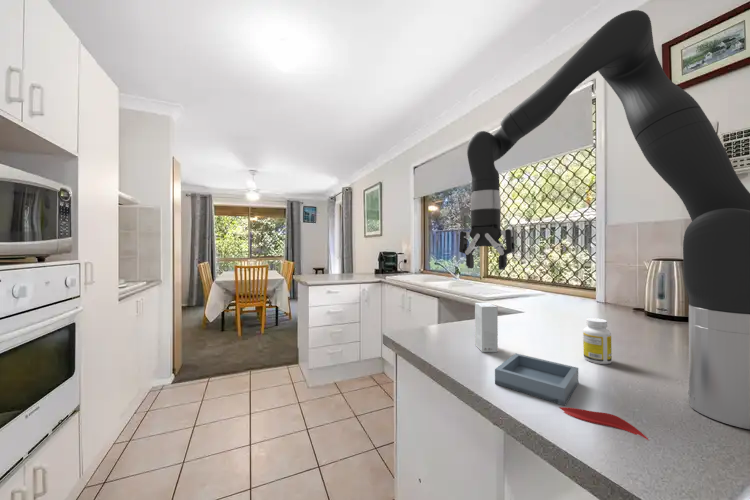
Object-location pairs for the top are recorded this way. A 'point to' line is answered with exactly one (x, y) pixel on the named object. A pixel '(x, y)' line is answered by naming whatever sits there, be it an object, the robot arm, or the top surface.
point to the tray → (538, 378)
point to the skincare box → (486, 327)
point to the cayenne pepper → (602, 419)
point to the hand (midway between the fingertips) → (485, 268)
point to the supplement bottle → (597, 341)
